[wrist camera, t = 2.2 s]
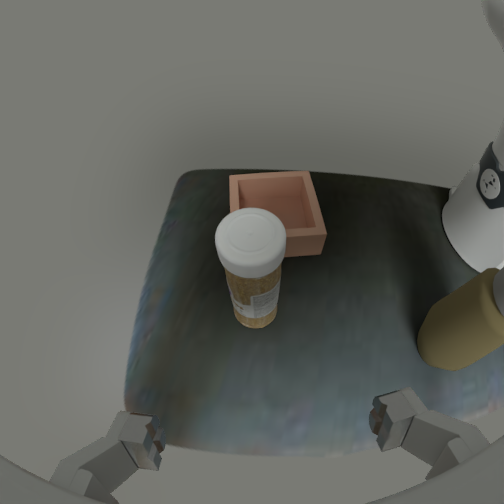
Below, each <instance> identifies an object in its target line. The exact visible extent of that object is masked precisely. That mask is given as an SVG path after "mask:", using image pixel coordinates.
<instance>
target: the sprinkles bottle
mask: <svg viewBox="0 0 504 504" xmlns="http://www.w3.org/2000/svg"><path fill="white" fill-rule="evenodd" d="M215 244H216V249H217V253H218V256H219V259H220V261H221V263H222V265H223V266H224V268H225V273H226V279H227V283H228V287H229V291H230V295H231V300H232V303H233V306H234V313H235V316H236V318H237V319H238V321H239V322H240V323H241V324H243V325H244V326H246V327H249V328H262V327H265V326H266V325H268V324H270V323H271V322H272V321H273V319H274V318H275V316H276V313H277V302H278V296H279V288H280V280H281V263H282V260H283V258H284V255H285V249H286V231H285V228H284V225H283V224H282V222H281V221H280V219H279V218H278V217H277V216H275V215H274V214H273V213H271V212H269V211H267V210H264V209H260V208H243V209H239V210H236V211H234V212H232V213H230V214H229V215H227V216H226V217H225V218H224V219H223V220H222V221H221V222H220V224H219V225H218V227H217V230H216V234H215Z"/></svg>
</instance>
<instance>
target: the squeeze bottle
mask: <svg viewBox="0 0 504 504" xmlns="http://www.w3.org/2000/svg"><path fill="white" fill-rule="evenodd" d="M502 344H504V267H503V268H502V269H501V270H499V269H497V268H487V269H486V270H484V271H483V272H481V273H480V274H479V275H477V276H476V277H474V278H473V279H471V280H470V281H469V282H467V283H466V284H464V285H463V286H461V287H460V288H458V289H456V290H455V291H453V292H452V293H450V294H449V295H447V296H445V297H444V298H442V299H441V300H439V301H438V302H437V303H435V304H434V305H432V307H431V308H430V310H429V312H428V314H427V316H426V318H425V320H424V322H423V324H422V326H421V328H420V330H419V332H418V338H417V346H418V352H419V354H420V355H421V357H422V359H423V361H425V362H426V363H427V364H428V365H429V366H433V367H437V368H441V369H446V370H451V371H456V370H459V369H463V368H465V367H467V366H469V365H471V364H472V363H474V362H476V361H477V360H479V359H481V358H482V357H484V356H486V355H487V354H489V353H490V352H492V351H493V350H495V349H497V348H498V347H500V346H501V345H502Z"/></svg>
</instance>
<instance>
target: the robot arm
mask: <svg viewBox="0 0 504 504" xmlns="http://www.w3.org/2000/svg"><path fill="white" fill-rule="evenodd" d="M481 2H482V8H483V13H484V15H485V18H486V21H487V23H488V25H489V27H490V28H491V30H492V32H493V33H494V35H495V36H496V37H497V39H498V41H499V43H500V44H501V46H502V49H503V51H504V0H482V1H481ZM442 221H443V225H444V229H445V232H446V234H447V236H448V239H449V240H450V242H451V244H452V246H453V247H454V249H455V250H456V251H457V253H458V254H459V255H460V256H461V258H462V259H463V260H464V261H465V262H466V263H467V264H469V265H470V266H471V267H472V268H474V269H475V270H477V271H478V272H480V273H481V272H483V271H484V270H486V269H487V268H497V269H499V270H501V269H502V268H503V267H504V120H503V123H502V125H501V127H500V130H499V132H498V134H497V136H496V138H495V140H494V142H491V143H490V144H489V146H488V147H487V148H486V150H485V151H484V153H483V156H482V158H481V160H480V163H475V164H474V165H473V166H472V167H471V169H470V170H469V172H468V173H467V174H466V176H465V177H464V179H463V180H462V181H461V183H460V184H459V186H458V187H455V186H453V187H452V188H451V189H450V191H449V200H448V202H447V203H446V204H445V206H444V208H443V211H442ZM372 404H373V406H374V408H373V409H372V410H371V411H370V415H369V425H370V428H371V430H372V433H374V434H376V435H378V437H377V440H376V441H377V443H378V445H379V447H380V450H381V452H384V451H387V450H390V449H393V448H397V447H400V446H401V447H402V448H403V449H405V450H407V451H408V452H410V453H411V454H413V455H415V456H416V457H418V458H419V459H421V460H423V461H424V462H426V463H428V464H430V465H431V466H433V467H432V469H431V470H430V471H429V473H428V474H427V476H426V478H425V479H426V480H427V481H425V482H423V483H421V484H418V485H416V486H414V487H411V488H409V489H406V490H404V491H401V492H399V493H396V494H393V495H391V496H388V497H385V498H382V499H379V500H376V501H373V502H370V503H366V504H504V435H503V436H502V437H501V438H499V439H498V440H496V441H495V442H494V443H492V444H490V443H489V442H488V440H487V439H486V438H485V436H484V435H483V434H482V433H481V431H480V430H479V429H478V428H477V427H476V426H475V425H472V424H469V423H466V422H463V421H460V420H457V419H455V418H452V417H449V416H446V415H444V414H441V413H438V412H436V411H433V410H430V411H428V409H427V408H426V407H425V405H424V404H423V403H422V401H421V400H420V399H419V397H418V396H417V395H416V394H415V392H414V391H413V390H412V388H410V387H407V388H404V389H400V390H398V391H394V392H390V393H387V394H383V395H379V396H376V397H375V398H374V399H373V403H372ZM159 422H160V421H159V419H158V417H157V416H156V415H150V414H142V413H135V412H127V411H120V412H118V414H117V416H116V418H115V420H114V421H113V424H112V425H111V428H110V429H109V431H108V434H107V436H106V438H104V437H102V438H100V439H99V440H97V441H95V442H93V443H91V444H90V445H88V446H86V447H85V448H83V449H81V450H79V451H77V452H76V453H74V454H72V455H70V456H68V457H67V458H65V459H63V460H61V461H60V463H59V465H58V467H57V468H56V470H55V472H54V474H53V475H52V477H51V479H50V481H47V480H45V479H43V478H41V477H38V476H37V475H35V474H33V473H31V472H29V471H27V470H25V469H23V468H21V467H20V466H18V465H16V464H14V463H13V462H11V461H9V460H8V459H6V458H4V457H3V456H1V455H0V504H119V503H118V501H117V500H116V499H115V498H114V497H113V496H112V495H111V494H110V493H111V492H113V491H114V490H115V489H116V488H117V487H119V486H120V485H121V484H122V483H123V482H124V481H126V480H127V479H128V478H129V477H130V476H131V475H132V474H133V473H135V472H136V471H137V470H138V468H141V469H149V470H156V471H158V470H159V467H160V463H161V459H162V458H161V456H160V453H161V452H162V451H163V450H164V448H165V444H166V437H165V433H164V430H163V429H162V428H161V427H160V426H159Z"/></svg>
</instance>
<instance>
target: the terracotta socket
mask: <svg viewBox="0 0 504 504" xmlns="http://www.w3.org/2000/svg"><path fill="white" fill-rule="evenodd" d="M229 177H230V213H232V212H234V211H236V210H239V209H243V208H260V209H264V210H267V211H269V212H271V213H273V214H274V215H275V216H277V217H278V218H279V219H280V221H281V222H282V224H283V225H284V228H285V231H286V249H285V255H284V257H295V256H307V255H319V254H321V252H322V249H323V246H324V242H325V239H326V236H327V232H326V229H325V225H324V221H323V218H322V214H321V210H320V207H319V203H318V200H317V196H316V193H315V190H314V186H313V183H312V180H311V177H310V173H309V171H289V172H270V173H255V174H241V175H230V176H229Z"/></svg>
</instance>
